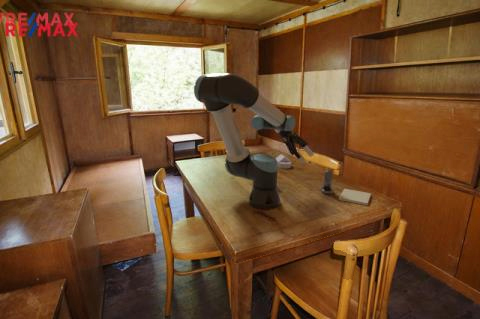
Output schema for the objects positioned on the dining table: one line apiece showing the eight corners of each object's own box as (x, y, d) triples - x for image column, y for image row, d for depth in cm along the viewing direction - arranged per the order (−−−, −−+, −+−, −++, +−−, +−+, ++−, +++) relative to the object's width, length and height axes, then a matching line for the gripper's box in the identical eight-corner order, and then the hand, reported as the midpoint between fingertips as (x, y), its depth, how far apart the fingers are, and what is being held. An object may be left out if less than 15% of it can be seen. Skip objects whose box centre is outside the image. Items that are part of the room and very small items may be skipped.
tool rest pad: (367, 205, 128) (367, 203, 128) (338, 199, 134) (339, 197, 134) (370, 195, 139) (371, 193, 138) (344, 190, 145) (344, 188, 145)
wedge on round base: (274, 163, 194) (279, 168, 182) (275, 154, 192) (280, 159, 180) (287, 162, 196) (292, 168, 183) (287, 153, 194) (293, 158, 181)
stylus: (331, 195, 139) (333, 173, 136) (319, 193, 143) (320, 171, 139) (334, 191, 145) (336, 170, 141) (322, 189, 148) (324, 168, 144)
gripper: (278, 128, 135) (306, 161, 132) (295, 121, 156) (320, 149, 153) (268, 137, 140) (295, 169, 137) (286, 129, 160) (310, 156, 157)
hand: (308, 158), depth 145 cm, fingers open, 13 cm apart
